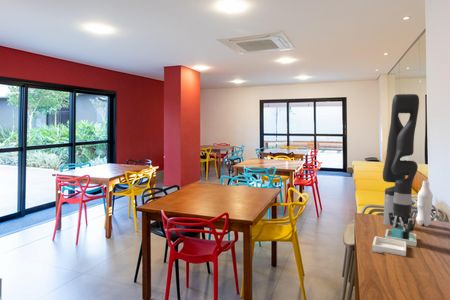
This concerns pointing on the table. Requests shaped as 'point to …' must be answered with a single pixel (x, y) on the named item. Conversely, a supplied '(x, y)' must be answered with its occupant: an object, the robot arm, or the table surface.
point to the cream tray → (389, 246)
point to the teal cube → (398, 233)
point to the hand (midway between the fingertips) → (400, 237)
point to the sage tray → (410, 242)
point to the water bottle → (424, 205)
